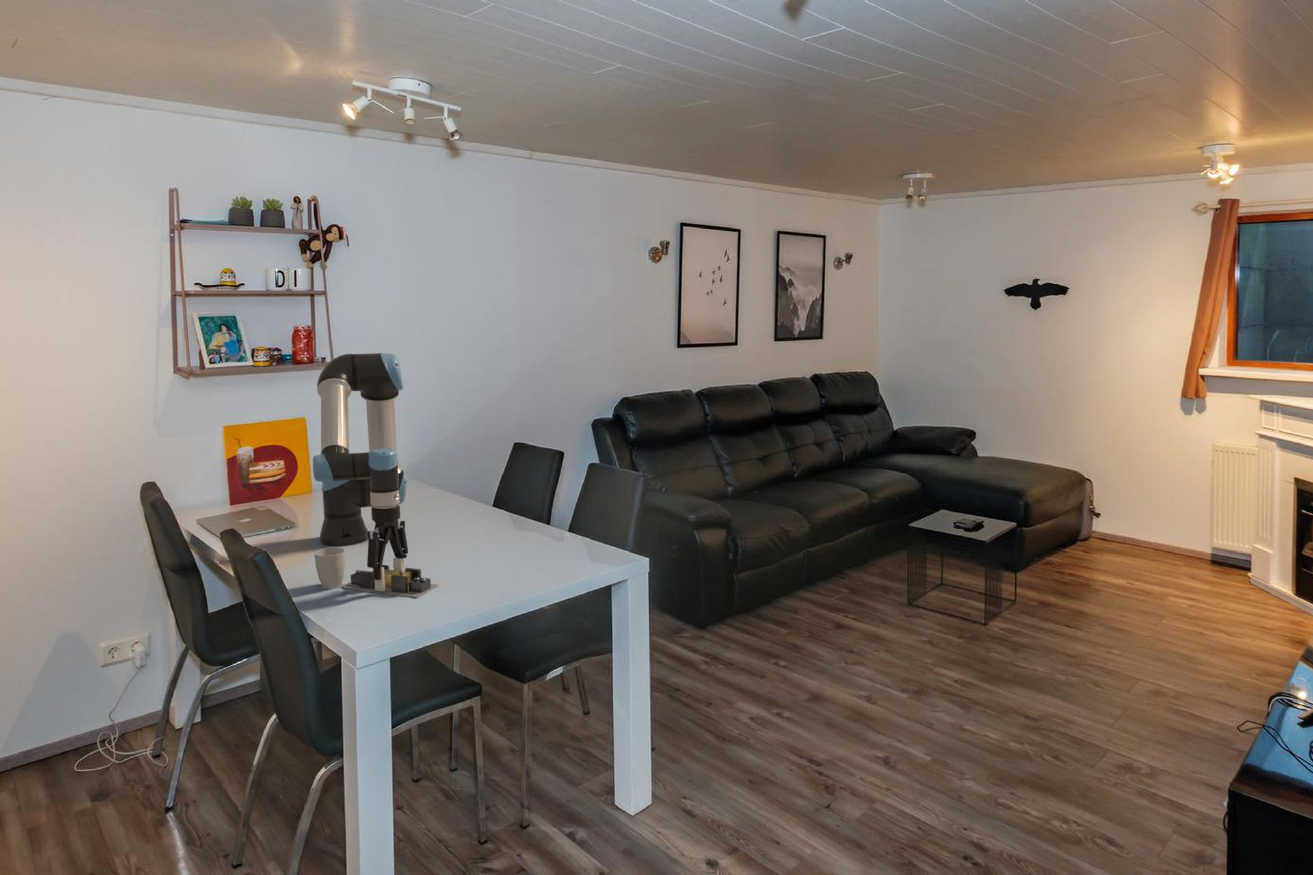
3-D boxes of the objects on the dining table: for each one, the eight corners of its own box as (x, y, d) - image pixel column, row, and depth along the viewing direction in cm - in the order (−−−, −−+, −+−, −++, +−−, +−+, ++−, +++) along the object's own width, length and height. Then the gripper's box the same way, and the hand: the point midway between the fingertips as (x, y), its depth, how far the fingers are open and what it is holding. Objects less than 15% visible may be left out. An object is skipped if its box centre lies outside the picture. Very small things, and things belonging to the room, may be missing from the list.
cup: (336, 578, 238) (333, 545, 237) (353, 584, 234) (351, 550, 232) (310, 586, 232) (308, 552, 230) (327, 592, 227) (325, 557, 225)
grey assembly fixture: (347, 585, 231) (346, 570, 231) (364, 577, 238) (363, 562, 238) (418, 594, 224) (417, 579, 223) (433, 585, 231) (433, 570, 230)
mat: (343, 588, 230) (343, 587, 230) (366, 577, 240) (366, 575, 240) (417, 597, 223) (417, 596, 223) (438, 585, 232) (438, 584, 232)
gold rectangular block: (412, 586, 231) (411, 569, 230) (404, 590, 228) (403, 573, 227) (378, 581, 234) (377, 565, 234) (370, 586, 231) (369, 569, 230)
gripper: (373, 515, 216) (377, 598, 220) (419, 498, 236) (422, 575, 239) (349, 513, 219) (354, 595, 222) (396, 496, 238) (400, 573, 241)
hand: (389, 585), depth 231 cm, fingers open, 8 cm apart
